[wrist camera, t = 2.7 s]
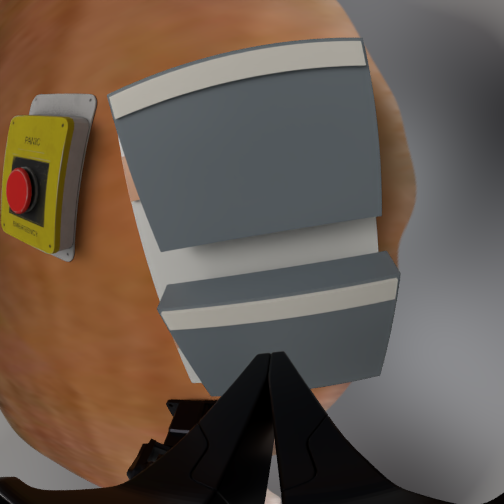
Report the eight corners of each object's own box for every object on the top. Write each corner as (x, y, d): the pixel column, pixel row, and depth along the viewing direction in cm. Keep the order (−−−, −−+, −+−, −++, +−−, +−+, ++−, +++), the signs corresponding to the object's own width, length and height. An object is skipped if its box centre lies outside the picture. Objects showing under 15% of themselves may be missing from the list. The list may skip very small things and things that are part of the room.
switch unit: (369, 343, 21) (381, 372, 18) (198, 364, 23) (187, 393, 20) (335, 62, 15) (347, 41, 12) (130, 108, 17) (103, 100, 14)
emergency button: (-8, 247, 18) (7, 91, 13) (20, 236, 22) (38, 95, 17) (47, 280, 18) (70, 86, 13) (77, 262, 22) (103, 95, 17)
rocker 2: (373, 353, 18) (380, 377, 16) (214, 374, 20) (210, 398, 18) (386, 250, 13) (402, 275, 12) (167, 284, 15) (155, 311, 13)
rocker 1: (369, 201, 15) (383, 217, 13) (170, 234, 17) (159, 254, 15) (349, 44, 10) (364, 37, 8) (124, 93, 12) (104, 95, 10)
